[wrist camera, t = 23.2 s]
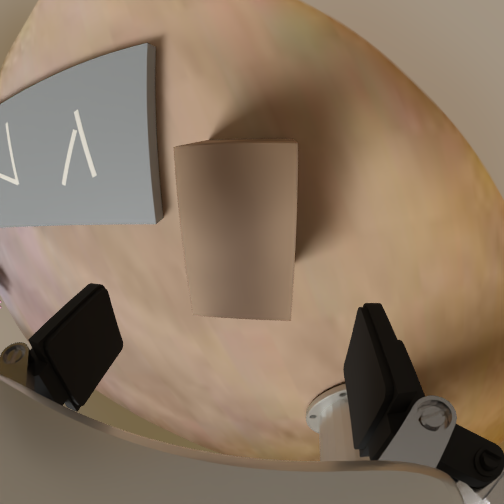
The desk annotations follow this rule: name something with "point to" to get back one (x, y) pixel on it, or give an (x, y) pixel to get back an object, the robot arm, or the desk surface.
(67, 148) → the slate board
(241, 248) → the block
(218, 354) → the desk surface
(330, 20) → the desk surface
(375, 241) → the desk surface
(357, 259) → the desk surface
